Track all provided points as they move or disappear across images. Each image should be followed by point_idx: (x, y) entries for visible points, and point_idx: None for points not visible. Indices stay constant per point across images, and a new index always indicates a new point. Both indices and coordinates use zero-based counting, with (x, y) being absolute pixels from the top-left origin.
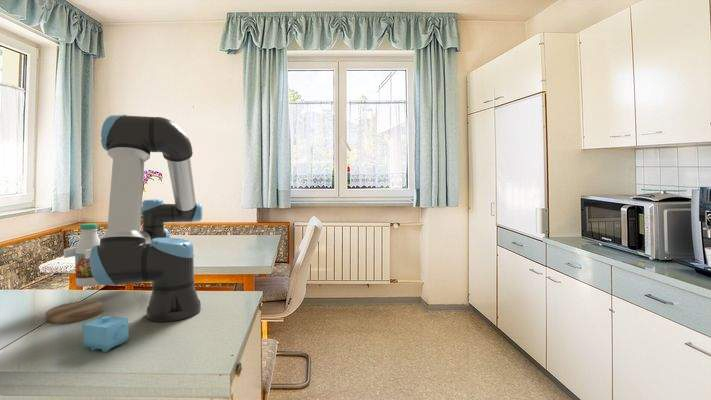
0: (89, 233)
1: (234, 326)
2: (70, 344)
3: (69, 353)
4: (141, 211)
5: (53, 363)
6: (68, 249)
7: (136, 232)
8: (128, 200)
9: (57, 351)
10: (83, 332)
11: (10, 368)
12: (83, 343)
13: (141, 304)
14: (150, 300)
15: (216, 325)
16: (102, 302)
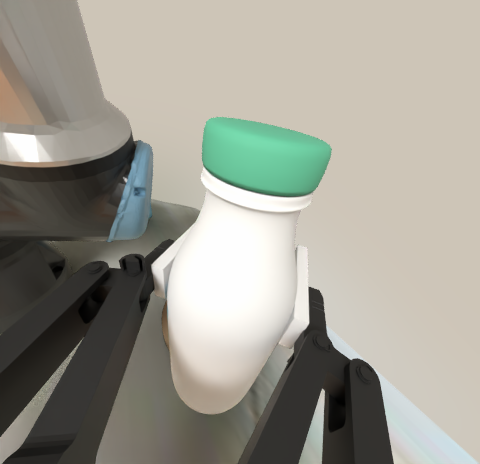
0: (228, 183)
1: None
2: (169, 230)
3: (163, 217)
4: None
5: (170, 209)
6: (296, 254)
7: None
8: None
9: (176, 222)
10: (150, 203)
11: (198, 211)
12: (151, 213)
13: (63, 370)
14: (51, 249)
15: None
16: (167, 340)
